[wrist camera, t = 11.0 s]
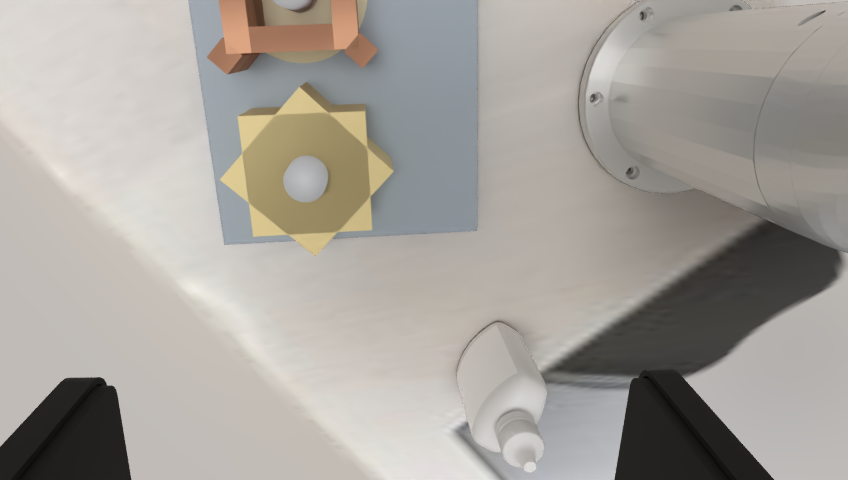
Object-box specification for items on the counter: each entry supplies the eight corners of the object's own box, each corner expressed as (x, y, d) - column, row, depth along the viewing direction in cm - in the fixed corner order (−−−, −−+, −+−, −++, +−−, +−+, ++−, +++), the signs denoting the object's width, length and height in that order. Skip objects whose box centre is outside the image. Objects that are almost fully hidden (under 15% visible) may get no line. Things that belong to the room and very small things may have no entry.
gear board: (472, -118, 33) (499, -158, 26) (473, 223, 39) (494, 260, 33) (179, -114, 32) (129, -156, 25) (229, 237, 38) (200, 278, 31)
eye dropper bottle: (439, 348, 42) (465, 461, 31) (508, 312, 42) (561, 414, 30) (465, 393, 43) (500, 517, 32) (533, 359, 43) (592, 472, 32)
